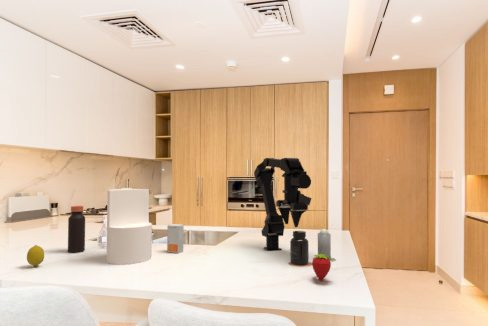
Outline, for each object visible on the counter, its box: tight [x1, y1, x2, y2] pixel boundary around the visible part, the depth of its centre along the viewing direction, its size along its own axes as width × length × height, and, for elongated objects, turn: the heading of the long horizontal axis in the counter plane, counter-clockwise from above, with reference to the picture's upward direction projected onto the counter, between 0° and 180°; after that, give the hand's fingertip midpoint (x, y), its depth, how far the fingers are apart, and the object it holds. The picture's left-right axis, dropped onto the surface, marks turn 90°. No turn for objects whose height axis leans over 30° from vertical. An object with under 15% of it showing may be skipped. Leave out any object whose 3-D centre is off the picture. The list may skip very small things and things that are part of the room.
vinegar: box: [67, 205, 86, 254], centre depth 150 cm, size 7×7×20 cm
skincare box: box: [166, 223, 185, 254], centre depth 149 cm, size 6×4×12 cm
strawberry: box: [311, 250, 332, 282], centre depth 109 cm, size 6×8×10 cm
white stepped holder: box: [106, 188, 153, 266], centre depth 137 cm, size 17×17×28 cm
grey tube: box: [317, 228, 332, 260], centre depth 134 cm, size 5×5×12 cm
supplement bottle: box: [289, 230, 310, 265], centre depth 127 cm, size 7×7×12 cm
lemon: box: [26, 244, 45, 268], centre depth 125 cm, size 6×6×8 cm
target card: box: [288, 256, 337, 268], centre depth 130 cm, size 12×22×1 cm, turn 107°
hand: (291, 225), depth 140 cm, fingers open, 9 cm apart
